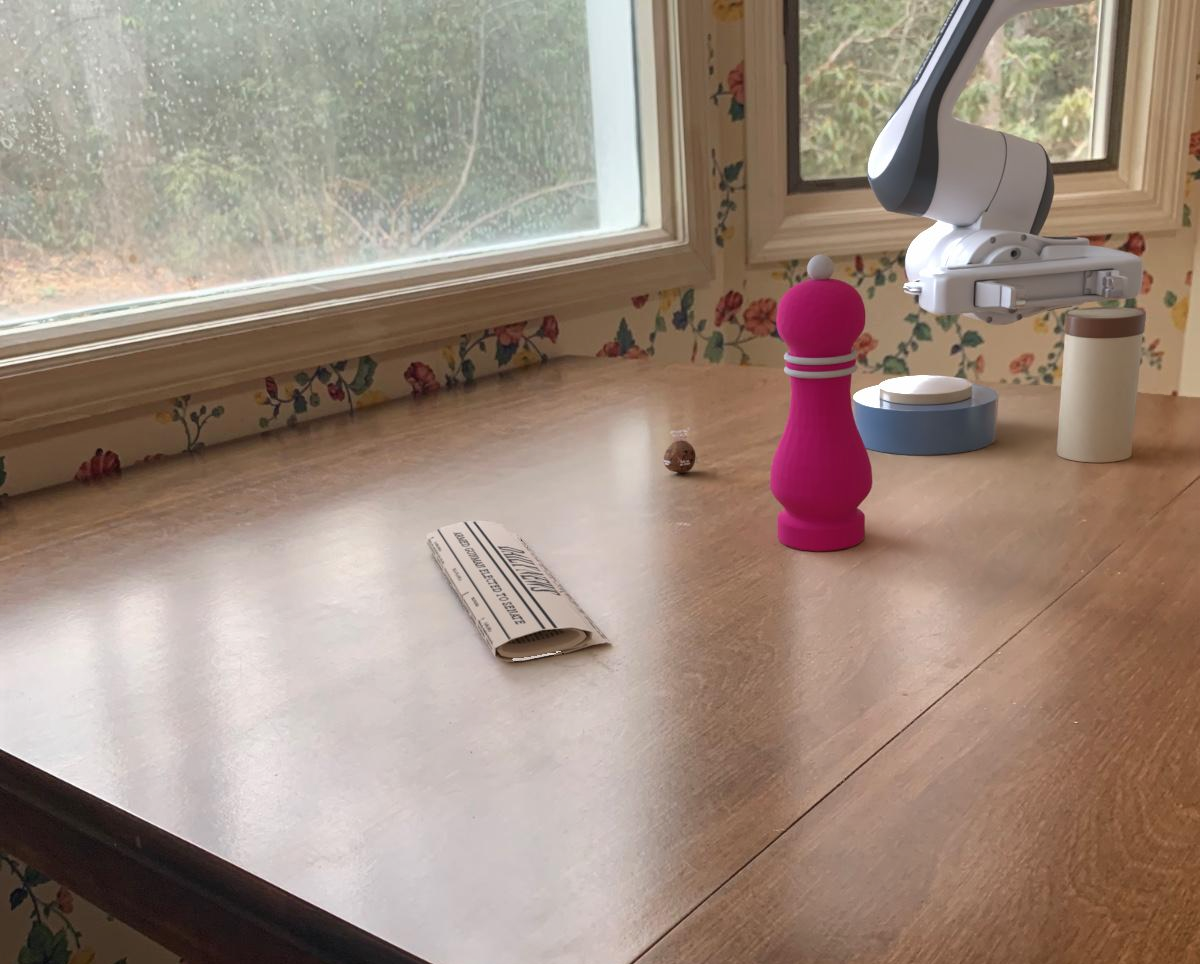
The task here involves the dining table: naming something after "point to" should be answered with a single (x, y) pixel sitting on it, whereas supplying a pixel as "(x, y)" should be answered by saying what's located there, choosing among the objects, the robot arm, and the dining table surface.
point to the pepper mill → (821, 416)
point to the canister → (1099, 383)
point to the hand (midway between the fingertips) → (1069, 293)
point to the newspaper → (510, 592)
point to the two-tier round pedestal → (926, 415)
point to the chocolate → (680, 455)
